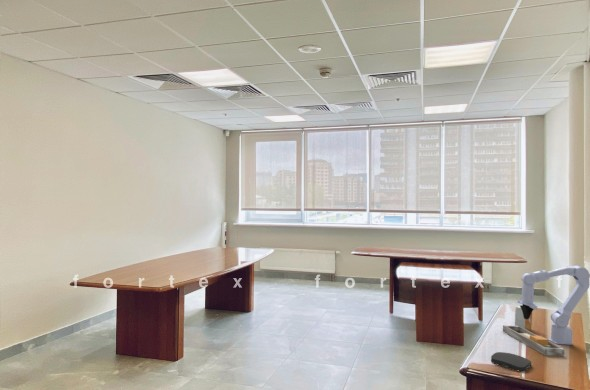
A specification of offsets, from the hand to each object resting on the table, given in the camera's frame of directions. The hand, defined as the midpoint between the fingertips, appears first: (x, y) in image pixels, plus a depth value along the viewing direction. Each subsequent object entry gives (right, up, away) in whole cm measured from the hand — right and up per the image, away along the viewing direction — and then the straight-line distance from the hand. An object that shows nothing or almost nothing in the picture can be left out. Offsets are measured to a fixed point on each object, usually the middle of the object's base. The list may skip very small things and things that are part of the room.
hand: (526, 318), depth 223 cm
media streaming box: (-31, -8, -41) cm, 52 cm away
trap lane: (-3, -10, -9) cm, 14 cm away
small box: (+7, -11, +16) cm, 21 cm away
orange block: (-3, -8, -16) cm, 18 cm away
